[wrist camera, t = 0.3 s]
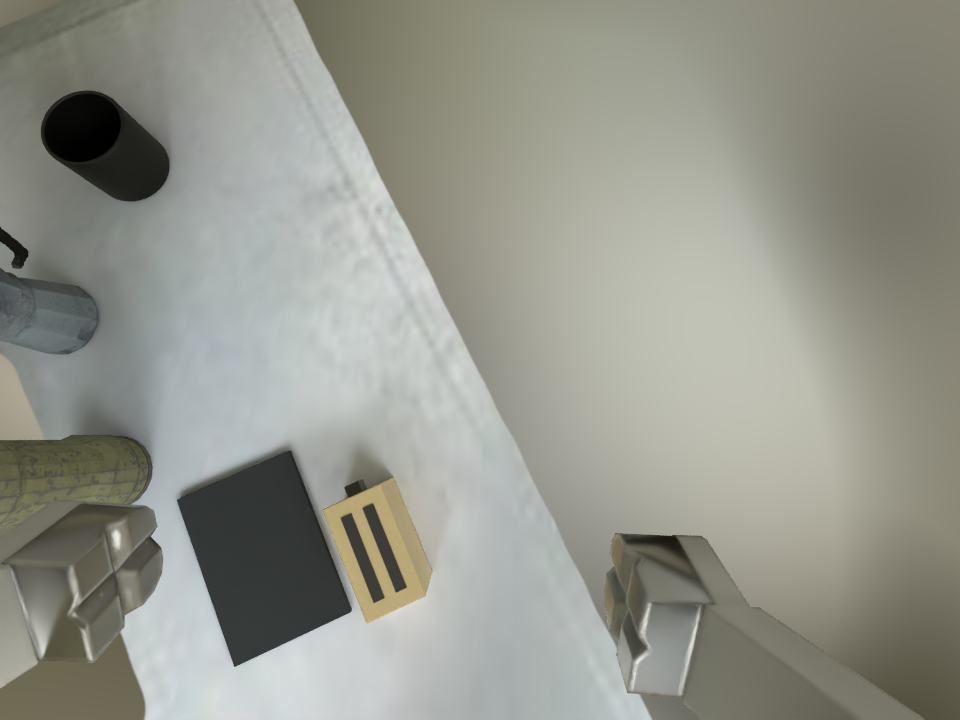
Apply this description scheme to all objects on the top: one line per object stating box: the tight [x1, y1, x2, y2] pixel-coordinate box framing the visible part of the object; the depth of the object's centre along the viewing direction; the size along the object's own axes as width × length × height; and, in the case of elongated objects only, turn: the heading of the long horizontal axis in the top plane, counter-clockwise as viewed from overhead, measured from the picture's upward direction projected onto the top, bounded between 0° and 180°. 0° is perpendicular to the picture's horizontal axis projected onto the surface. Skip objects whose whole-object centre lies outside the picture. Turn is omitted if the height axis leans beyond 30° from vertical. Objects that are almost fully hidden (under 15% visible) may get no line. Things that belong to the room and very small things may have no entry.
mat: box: [177, 451, 352, 667], centre depth 58 cm, size 20×14×1 cm
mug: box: [41, 91, 169, 201], centre depth 61 cm, size 9×12×9 cm
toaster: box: [323, 477, 432, 623], centre depth 55 cm, size 13×6×9 cm, turn 24°
